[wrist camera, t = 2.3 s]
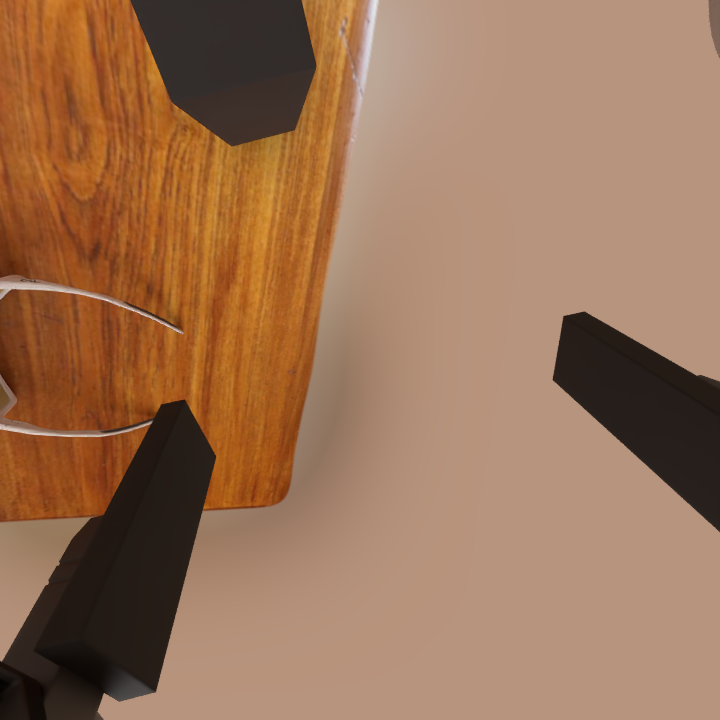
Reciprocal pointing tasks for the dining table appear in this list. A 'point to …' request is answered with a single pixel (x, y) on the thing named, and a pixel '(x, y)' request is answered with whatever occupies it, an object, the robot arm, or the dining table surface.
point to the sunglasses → (4, 399)
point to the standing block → (232, 62)
